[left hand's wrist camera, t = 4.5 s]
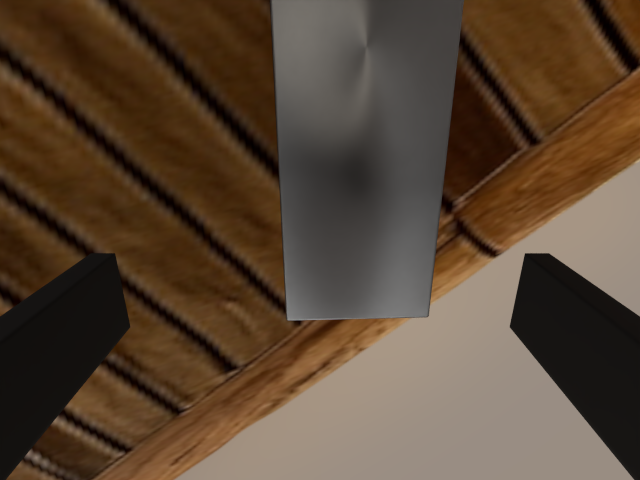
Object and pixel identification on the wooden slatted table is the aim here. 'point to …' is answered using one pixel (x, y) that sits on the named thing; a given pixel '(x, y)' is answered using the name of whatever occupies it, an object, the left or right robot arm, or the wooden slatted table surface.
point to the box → (362, 151)
